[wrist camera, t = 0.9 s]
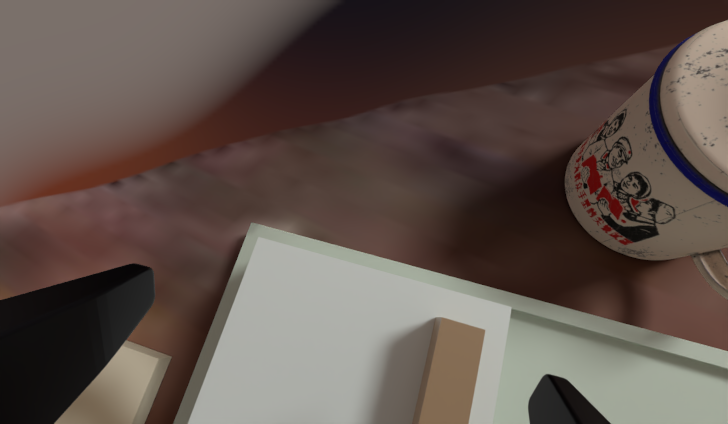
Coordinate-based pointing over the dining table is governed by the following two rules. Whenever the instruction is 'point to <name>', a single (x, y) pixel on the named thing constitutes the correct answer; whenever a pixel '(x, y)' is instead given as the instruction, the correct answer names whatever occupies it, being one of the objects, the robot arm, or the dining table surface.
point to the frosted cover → (350, 347)
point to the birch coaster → (121, 389)
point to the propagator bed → (542, 351)
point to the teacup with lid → (663, 164)
